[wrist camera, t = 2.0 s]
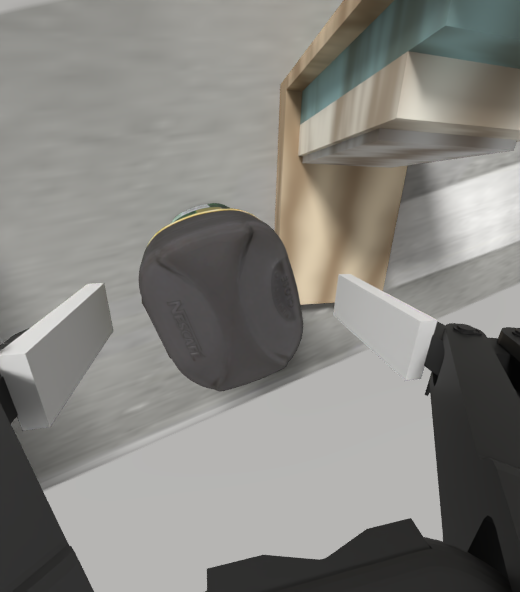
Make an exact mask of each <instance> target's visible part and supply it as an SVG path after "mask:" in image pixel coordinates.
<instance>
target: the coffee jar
mask: <svg viewBox="0 0 520 592" xmlns="http://www.w3.org/2000/svg"><path fill="white" fill-rule="evenodd" d="M139 288H140V293H141V296H142V304H143V306H144V307H145V309H146V311H147V313H148V315H149V317H150V319H151V321H152V323H153V325H154V327H155V329H156V331H157V333H158V335H159V337H160V339H161V341H162V343H163V345H164V347H165V349H166V351H167V353H168V355H169V357H170V358H171V359H172V360H173V362H174V363H175V365H176V366H177V368H178V369H179V370H180V371H181V373H182V374H184V375H185V376H186V377H187V378H188V379H190V380H191V381H193V382H195V383H197V384H199V385H201V386H203V387H206V388H211V389H215V390H217V391H225V390H229V389H232V388H236V387H239V386H242V385H245V384H248V383H251V382H254V381H256V380H259V379H262V378H264V377H266V376H268V375H271V374H273V373H275V372H277V371H279V370H281V369H283V368H285V367H286V366H287V364H288V362H289V361H290V360H291V358H292V357H293V355H294V354H295V352H296V350H297V348H298V346H299V343H300V341H301V337H302V332H303V318H302V312H301V305H300V299H299V294H298V289H297V285H296V281H295V277H294V274H293V270H292V267H291V264H290V261H289V258H288V254H287V251H286V248H285V246H284V244H283V242H282V240H281V239H280V237H279V236H278V235H277V234H276V232H275V231H274V230H273V229H272V228H271V227H270V226H268V225H267V224H266V223H264V222H262V221H261V220H260V219H258V218H257V217H255V216H254V215H252V214H250V213H248V212H245V211H242V210H239V209H230V208H229V207H227V206H225V205H222V204H217V203H212V204H205V205H200V206H196V207H193V208H191V209H188V210H186V211H184V212H182V213H180V214H179V215H177V216H176V217H175V218H174V220H173V221H172V222H171V224H169V225H167V226H165V227H164V228H162V229H161V230H160V231H158V232H157V233H156V234H155V235H154V237H153V238H152V239H151V240H150V242H149V244H148V245H147V248H146V250H145V252H144V256H143V259H142V262H141V265H140V271H139Z"/></svg>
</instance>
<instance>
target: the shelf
mask: <svg viewBox="0 0 520 592" xmlns="http://www.w3.org/2000/svg"><path fill="white" fill-rule="evenodd" d="M517 141H520V0H344V1H343V2H342V3H341V5H340V6H339V7H338V9H337V10H336V11H335V13H334V14H333V15H332V17H331V18H330V19H329V21H328V22H327V23H326V25H325V26H324V27H323V29H322V30H321V31H320V33H319V34H318V35H317V37H316V38H315V39H314V41H313V42H312V43H311V45H310V46H309V47H308V49H307V50H306V51H305V53H304V54H303V55H302V57H301V58H300V59H299V61H298V62H297V63H296V65H295V66H294V67H293V69H292V70H291V71H290V73H289V74H288V75H287V77H286V78H285V79H284V81H283V82H282V83H281V86H280V110H279V135H278V159H277V184H276V208H275V232H276V234H277V235H278V236H279V237H280V239H281V240H282V242H283V244H284V246H285V248H286V251H287V254H288V258H289V261H290V264H291V267H292V270H293V274H294V277H295V281H296V285H297V289H298V294H299V299H300V305H303V304H319V303H334V302H335V298H336V290H337V282H338V275H339V274H351V275H353V276H355V277H357V278H359V279H361V280H362V281H364V282H366V283H368V284H370V285H372V286H374V287H376V288H378V289H379V290H381V291H383V287H384V282H385V277H386V272H387V267H388V262H389V257H390V252H391V247H392V242H393V237H394V232H395V227H396V222H397V217H398V211H399V206H400V201H401V196H402V191H403V186H404V181H405V176H406V171H407V166H408V165H414V164H421V163H428V162H436V161H443V160H450V159H457V158H464V157H471V156H479V155H486V154H493V153H500V152H507V151H514V148H515V145H516V142H517Z"/></svg>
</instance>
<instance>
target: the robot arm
mask: <svg viewBox="0 0 520 592" xmlns="http://www.w3.org/2000/svg"><path fill="white" fill-rule="evenodd" d="M333 316H335V317H336V318H337V319H338V320H339V321H340V322H341V323H342V324H343V325H344V326H346V327H347V328H348V329H349V330H350V331H351V332H352V333H353V334H354V335H355V336H356V337H358V338H359V339H360V340H361V341H362V342H363V343H364V344H365V345H366V346H367V347H369V348H370V349H371V350H372V351H373V352H374V353H375V354H376V355H377V356H378V357H380V358H381V359H382V360H383V361H384V362H385V363H386V364H387V365H388V366H389V367H391V368H392V369H393V370H394V371H395V372H396V373H397V374H398V375H399V376H400V377H402V378H403V379H404V380H405V381H408V380H415V379H421V376H422V373H423V370H424V366H425V367H427V368H428V369H429V370H431V371H432V373H431V376H430V379H429V383H428V386H427V389H426V393H425V395H427V396H428V394H429V393H431V404H432V416H433V427H434V439H435V450H436V461H437V473H438V484H439V495H440V506H441V516H442V517H441V518H442V529H443V542H442V541H439V540H434V539H430V538H425V537H423V536H422V535H421V533H420V531H419V530H418V529H417V527H416V525H415V524H414V522H413V521H412V519H411V518H410V519H406V520H402V521H398V522H394V523H390V524H385V525H382V526H377V527H373V528H369V529H366V530H365V531H364V532H362V533H361V534H359V535H358V536H356V537H355V538H354V539H352V540H351V541H349V542H348V543H347V544H346V545H344V546H342V547H341V548H340V549H338V550H337V551H336V552H334V553H333V554H331V555H330V556H329V557H327V558H325V559H321V560H315V559H304V558H293V557H281V556H270V555H261V556H257V557H253V558H249V559H245V560H241V561H237V562H233V563H229V564H225V565H221V566H217V567H213V568H208V569H207V591H205V592H520V328H510V327H506V328H502V330H501V332H500V335H499V337H498V339H497V338H487V337H486V335H485V334H484V333H483V332H482V331H480V330H478V329H475V328H473V327H471V326H469V325H465V324H455V323H454V324H447V325H446V326H445V325H443V324H441V323H439V322H438V321H437V320H436V319H434V318H432V317H431V316H429V315H427V314H425V313H423V312H421V311H419V310H417V309H415V308H414V307H412V306H410V305H408V304H406V303H404V302H402V301H400V300H398V299H397V298H395V297H393V296H391V295H389V294H387V293H385V292H383V291H381V290H379V289H378V288H376V287H374V286H372V285H370V284H368V283H366V282H364V281H362V280H361V279H359V278H357V277H355V276H353V275H351V274H339V275H338V282H337V290H336V298H335V305H334V313H333ZM112 332H113V326H112V321H111V316H110V311H109V306H108V301H107V295H106V290H105V285H104V283H95V284H87V285H85V286H84V287H83V288H82V289H80V290H79V291H78V292H76V293H75V294H74V295H72V296H71V297H70V298H69V299H67V300H66V301H65V302H63V303H62V304H61V305H59V306H58V307H57V308H56V309H54V310H53V311H52V312H50V313H49V314H48V315H46V316H45V317H44V318H43V319H41V320H40V321H39V322H37V323H36V324H35V325H33V326H32V327H31V328H28V329H26V330H24V331H22V332H20V333H17V334H15V335H14V336H12V337H11V338H10V339H8V340H7V341H6V342H4V344H1V345H0V592H94V591H93V589H92V587H91V585H90V583H89V581H88V578H87V576H86V574H85V573H84V570H83V568H82V566H81V564H80V562H79V560H78V558H77V556H76V554H75V552H74V551H73V549H72V547H71V546H69V544H68V543H67V540H66V538H65V536H64V534H63V532H62V530H61V528H60V526H59V524H58V522H57V520H56V518H55V516H54V514H53V511H52V509H51V507H50V505H49V503H48V501H47V499H46V497H45V495H44V493H43V491H42V489H41V486H40V484H39V482H38V480H37V478H36V476H35V474H34V472H33V470H32V468H31V466H30V464H29V462H28V459H27V457H26V455H25V453H24V451H23V449H22V447H21V445H20V443H19V441H18V439H17V437H16V435H15V432H14V430H13V428H12V426H11V423H12V421H13V420H14V419H15V418H16V417H17V418H18V421H19V423H20V426H21V428H22V431H25V430H33V429H41V428H48V427H50V426H51V425H52V423H53V422H54V420H55V419H56V417H57V416H58V414H59V413H60V411H61V410H62V408H63V407H64V405H65V404H66V402H67V401H68V399H69V398H70V396H71V395H72V393H73V391H74V390H75V388H76V387H77V385H78V384H79V382H80V381H81V379H82V378H83V376H84V375H85V373H86V372H87V370H88V369H89V367H90V366H91V364H92V363H93V361H94V359H95V358H96V356H97V355H98V353H99V352H100V350H101V349H102V347H103V346H104V344H105V343H106V341H107V340H108V338H109V337H110V335H111V334H112Z"/></svg>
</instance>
